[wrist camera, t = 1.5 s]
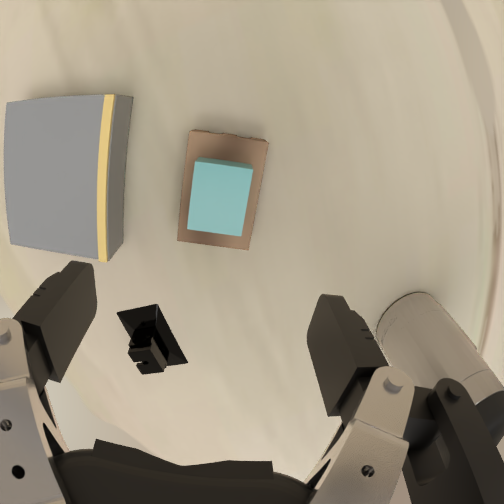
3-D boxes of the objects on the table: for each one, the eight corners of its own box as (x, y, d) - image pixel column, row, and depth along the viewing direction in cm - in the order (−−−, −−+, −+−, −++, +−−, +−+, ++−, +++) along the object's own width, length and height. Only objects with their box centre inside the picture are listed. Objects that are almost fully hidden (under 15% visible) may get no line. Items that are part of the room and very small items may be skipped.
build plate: (106, 299, 31) (92, 323, 27) (161, 287, 31) (152, 312, 27) (150, 373, 37) (143, 398, 32) (200, 366, 36) (197, 393, 32)
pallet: (264, 139, 25) (268, 142, 21) (246, 234, 28) (248, 250, 25) (195, 129, 24) (189, 131, 21) (183, 225, 28) (177, 240, 24)
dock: (133, 97, 22) (115, 94, 18) (122, 242, 28) (107, 262, 24) (30, 101, 20) (4, 102, 17) (30, 229, 26) (9, 245, 22)
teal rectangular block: (251, 164, 22) (253, 169, 20) (240, 224, 24) (241, 236, 22) (199, 156, 22) (195, 161, 19) (191, 218, 24) (187, 229, 22)
